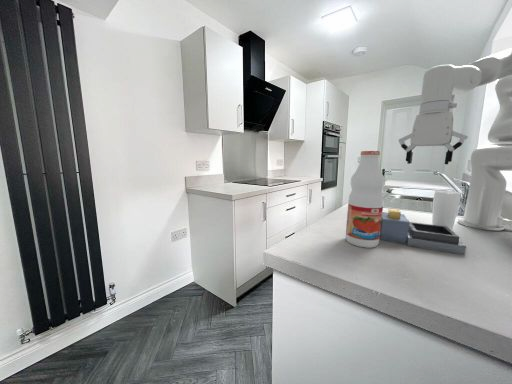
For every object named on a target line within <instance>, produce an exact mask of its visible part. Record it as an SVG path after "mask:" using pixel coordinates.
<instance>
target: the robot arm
mask: <svg viewBox="0 0 512 384" xmlns="http://www.w3.org/2000/svg"><path fill="white" fill-rule="evenodd" d="M492 82H495V85H494V90H495V93H496V98H497V100H498V103H499V110H498V112H497V115H496V117H495V119H494V121H493V122H492V124H491V126H490V129H489V131H488V133H487V140H488V141H489V142H490V143H492V144H485V145H484V144H483V145H481V146H478V147H476V148H474V149H473V151H472V153H471V155H470V164H471V165H470V167H471V169H470V172H471V174H470V181H469V187H468V193H467V198H466V203H465V204H466V205H465V210H464V216H463V218H458V220H457V223H458V224H461V225H462V226H466V227H469V228H475V229H479V230H485V231H486V230H487V231H495V232H496V231H498V232H499V231H503V230H505V225H509V226H512V219H509V218H504V217H503V216H501V214H502V208H503V203H504V199H505V194H506V190H507V189H506V188H507V179H506V178H505V176H504V175H503V174H502V172H501V171H506V172H507V171H509V172H512V48H508V49H506V50H503V51H500V52H497V53H494V54H491V55H489V56H486V57H485V56H484V57H483V58H480V59H478V60H475V61H472V62H470V63H469V62H468V63H467V64H465V65H462V66H461V65H460V66H458V65H456V66H455V65H453V64H440V65H435V66H432V67H431V68H428V69H427V70H426V71H424V74H423V77H422V86H421V95H420V96H421V97H420V102H419V112H418V115H416V116H415V119H414V122H413V125H412V130H411V133H409V134H407V135H406V136H403V137H400V138H399V139H398V142H399V145H400V147H401V148H402V149H403V150H404V151H405V152H406V155H405V162H406V163H407V164H409V165H410V164H413V163H412V161H413V154H414V152H413V150H414V149H415V148H416V147H439V146H440V147H442V146H443V147H445V148H446V149H447V151H446V152H445V159H444V165H449V163H451V162H452V160H453V156H454V155H453V153H454V151H456V150H457V149H459V148H460V147H461V146H463V144H464V143H465V142H466V140H467V139H468V138H469V137H468V135H466V134H463V133H460V132H457V131H454V130H453V129H454V114H453V112H452V111H451V110H452V109H455V108H457V106H458V102H452V97H453V96H455V95H459V94H463V93H467V92H470V91H472V90H474V89H475V88H478V87H481V86H482V87H483V86H486V85H488V84H490V83H492ZM453 137H455V138H458V139H459V140H458V141H457V142H456V143H455V144H454V145H452V144H451V142H452V140H453V139H452V138H453ZM408 140H410V144H409V145H407V144H406V141H408Z"/></svg>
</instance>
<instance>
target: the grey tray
mask: <svg viewBox="0 0 512 384" xmlns="http://www.w3.org/2000/svg"><path fill="white" fill-rule="evenodd" d="M460 237H461V236H459V235H458V234H456V232H454V231H453V230H452V231H451V230H450V229H449V228H448V227H447V226H439V225H432V224H429V223H421V222H414V221H413V222H411V221H409V219H408V218H407V217H406V215H405V214H403V213H402V212H401V211H400V210H399V209H393V208H388V211H387V212H385V211H384V212H383V211H382V220H381V229H380V238H379V241H380V240H381V241H386V242H393V243H397V244H405V245H407V247H414V248H419V249H426V250H432V251H439V252H443V253H444V252H445V253H449V254H457V255H462V256H465V255H466V250H467V245H466V244H464V243H463V242H462V241H461V240H460Z"/></svg>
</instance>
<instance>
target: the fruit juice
mask: <svg viewBox="0 0 512 384" xmlns="http://www.w3.org/2000/svg"><path fill="white" fill-rule="evenodd" d="M380 154H381V152H380V151H379V150H362V151H360V157H361V159H360V162H359V164H358V166H357V169H356V170H355V172H354V173H353V174H352V176H351V178H350V186H351V191H350V193H349V196H348V202H347V204H348V206H347V214H346V215H347V216H346V226H345V241H346V242H347V243H349V244H350V245H354V246H356V247H360V248H368V249H370V248H372V249H373V248H376V247H378V245H379V243H380V229H381V220H382V212H383V210H384V195H383V190H384V188H385V185H386V179H385V176H384V174H383V172H382V170H381V167H380V164H379V158H380Z"/></svg>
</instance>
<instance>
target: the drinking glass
mask: <svg viewBox="0 0 512 384" xmlns="http://www.w3.org/2000/svg"><path fill="white" fill-rule="evenodd" d="M461 196H462V193H461V192H458V191H453V190H451V191H450V190H435V191H434V195H433V201H432V218H431V219H432V220H431V221H432V222H431V225H439V226H447V227H448V228H449V229H450V230H451V231H453V228H454V225H455V222H456V218H457V214H458V211H459V207H460V203H461V198H462V197H461Z"/></svg>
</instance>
